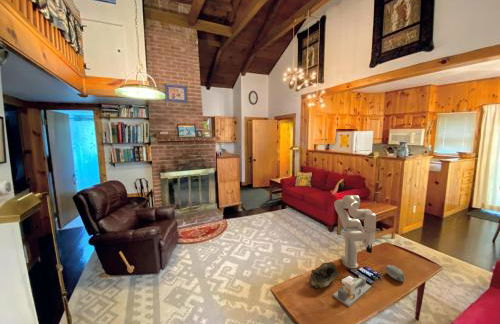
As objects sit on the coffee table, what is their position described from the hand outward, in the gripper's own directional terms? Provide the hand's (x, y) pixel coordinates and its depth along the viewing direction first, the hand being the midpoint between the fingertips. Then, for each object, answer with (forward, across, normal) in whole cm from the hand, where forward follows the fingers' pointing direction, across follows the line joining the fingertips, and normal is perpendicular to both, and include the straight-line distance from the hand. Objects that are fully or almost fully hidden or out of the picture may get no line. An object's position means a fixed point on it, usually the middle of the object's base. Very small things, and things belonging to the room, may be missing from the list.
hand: (369, 252), depth 152 cm
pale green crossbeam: (+24, +16, -3) cm, 29 cm away
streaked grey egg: (+27, -26, +8) cm, 39 cm away
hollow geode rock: (+27, +25, -21) cm, 42 cm away
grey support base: (+27, +16, -3) cm, 32 cm away
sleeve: (+25, +20, -3) cm, 32 cm away
